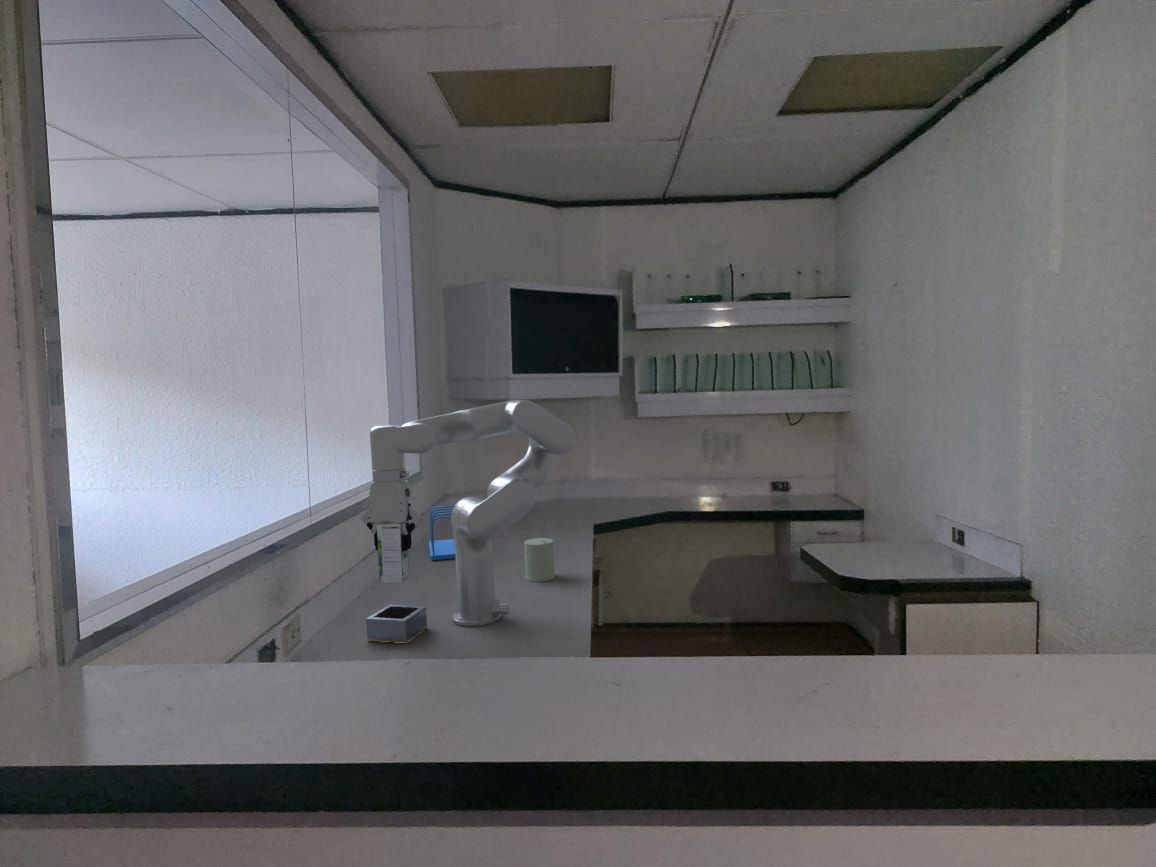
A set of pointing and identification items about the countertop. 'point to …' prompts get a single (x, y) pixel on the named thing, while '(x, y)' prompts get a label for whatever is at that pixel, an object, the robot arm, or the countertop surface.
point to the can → (539, 559)
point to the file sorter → (441, 547)
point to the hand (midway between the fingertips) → (393, 548)
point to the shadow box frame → (396, 623)
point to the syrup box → (391, 554)
